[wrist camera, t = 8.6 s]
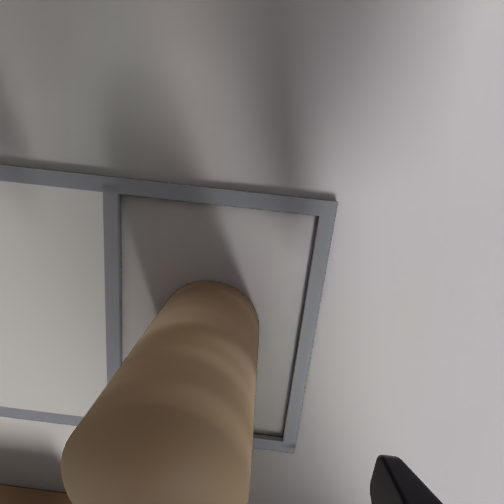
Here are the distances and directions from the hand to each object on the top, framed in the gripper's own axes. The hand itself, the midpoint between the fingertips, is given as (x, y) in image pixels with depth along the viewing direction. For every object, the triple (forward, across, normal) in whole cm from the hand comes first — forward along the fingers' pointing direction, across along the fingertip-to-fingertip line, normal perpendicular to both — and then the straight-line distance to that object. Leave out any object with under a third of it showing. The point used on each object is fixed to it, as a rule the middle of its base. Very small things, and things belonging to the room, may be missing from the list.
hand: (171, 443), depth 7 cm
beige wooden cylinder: (+5, 0, 0) cm, 5 cm away
